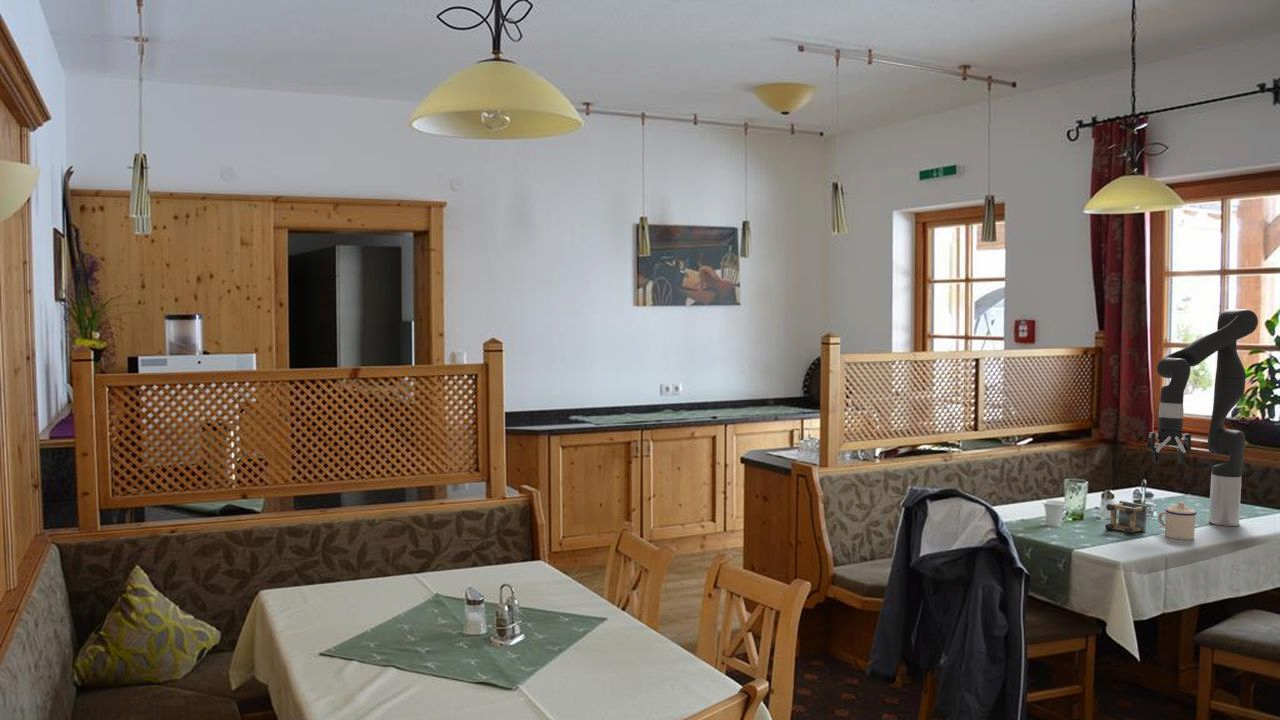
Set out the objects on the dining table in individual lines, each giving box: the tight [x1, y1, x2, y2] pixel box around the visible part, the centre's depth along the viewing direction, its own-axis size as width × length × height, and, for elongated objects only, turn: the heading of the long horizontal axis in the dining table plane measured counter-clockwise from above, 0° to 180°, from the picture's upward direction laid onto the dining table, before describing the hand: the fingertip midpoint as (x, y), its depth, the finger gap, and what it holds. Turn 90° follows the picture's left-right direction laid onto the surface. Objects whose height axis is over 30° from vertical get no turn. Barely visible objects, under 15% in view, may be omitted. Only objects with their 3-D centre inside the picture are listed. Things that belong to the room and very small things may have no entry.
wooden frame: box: [1104, 500, 1148, 535], centre depth 347 cm, size 9×9×9 cm
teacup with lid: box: [1157, 501, 1197, 541], centre depth 340 cm, size 12×9×12 cm
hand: (1168, 463), depth 351 cm, fingers open, 8 cm apart
